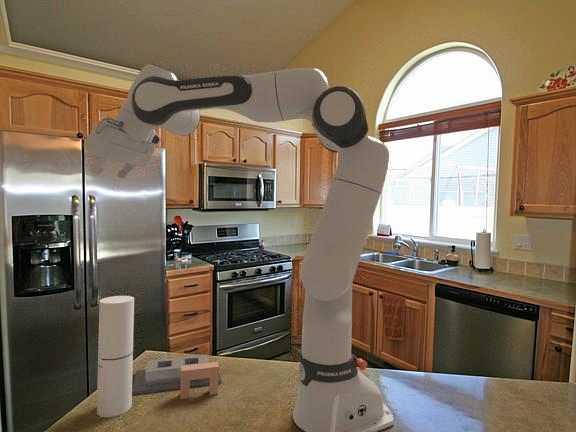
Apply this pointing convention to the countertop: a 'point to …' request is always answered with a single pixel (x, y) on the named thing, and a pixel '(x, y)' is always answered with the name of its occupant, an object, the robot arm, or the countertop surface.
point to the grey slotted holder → (166, 375)
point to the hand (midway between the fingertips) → (108, 175)
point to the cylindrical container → (115, 355)
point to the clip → (199, 377)
